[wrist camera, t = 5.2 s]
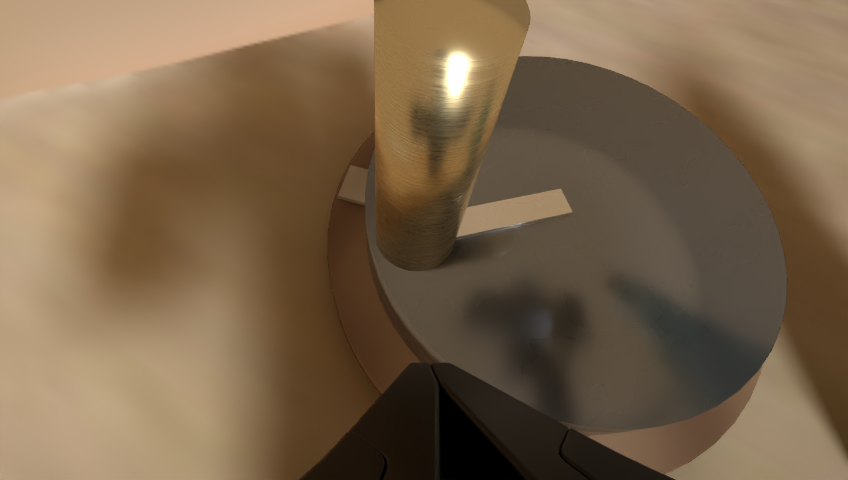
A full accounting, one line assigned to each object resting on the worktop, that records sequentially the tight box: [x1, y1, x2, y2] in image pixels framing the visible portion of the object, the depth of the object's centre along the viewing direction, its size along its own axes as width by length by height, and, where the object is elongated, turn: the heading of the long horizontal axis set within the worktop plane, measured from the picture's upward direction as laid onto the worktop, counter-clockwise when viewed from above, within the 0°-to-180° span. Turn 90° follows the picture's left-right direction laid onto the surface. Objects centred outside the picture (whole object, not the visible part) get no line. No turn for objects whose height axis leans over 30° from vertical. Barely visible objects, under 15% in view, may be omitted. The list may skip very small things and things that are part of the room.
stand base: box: [328, 132, 762, 474], centre depth 18 cm, size 18×18×2 cm
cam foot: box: [365, 0, 787, 436], centre depth 13 cm, size 15×15×10 cm
